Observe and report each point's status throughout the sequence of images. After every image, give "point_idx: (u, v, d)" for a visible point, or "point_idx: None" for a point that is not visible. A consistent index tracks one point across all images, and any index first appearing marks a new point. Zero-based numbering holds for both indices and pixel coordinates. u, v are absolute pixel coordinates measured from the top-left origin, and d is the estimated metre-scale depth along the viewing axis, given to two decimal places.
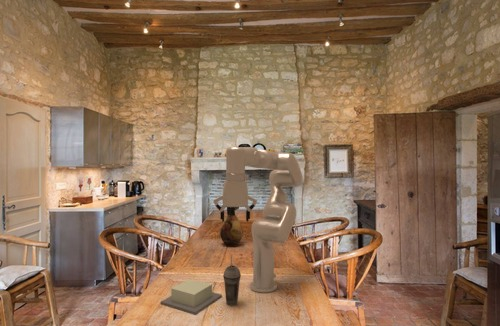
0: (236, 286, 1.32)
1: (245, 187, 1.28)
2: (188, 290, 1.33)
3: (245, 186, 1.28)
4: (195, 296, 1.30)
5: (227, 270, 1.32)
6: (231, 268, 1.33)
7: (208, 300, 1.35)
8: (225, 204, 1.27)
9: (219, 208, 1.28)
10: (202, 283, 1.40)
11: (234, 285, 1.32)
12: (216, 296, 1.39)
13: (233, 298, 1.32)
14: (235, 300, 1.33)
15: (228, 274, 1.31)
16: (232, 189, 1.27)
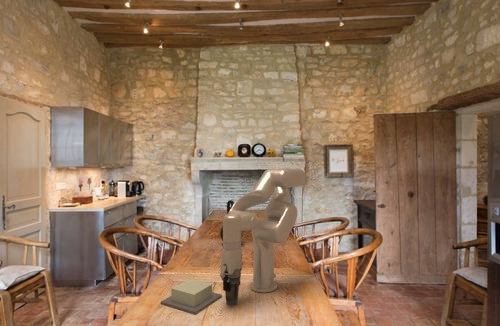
0: (236, 286, 1.32)
1: None
2: (188, 290, 1.33)
3: None
4: (195, 296, 1.30)
5: None
6: None
7: (208, 300, 1.35)
8: (230, 273, 1.30)
9: (226, 279, 1.29)
10: (202, 283, 1.40)
11: (234, 285, 1.32)
12: (216, 296, 1.39)
13: (233, 298, 1.32)
14: (235, 300, 1.33)
15: None
16: (235, 256, 1.32)
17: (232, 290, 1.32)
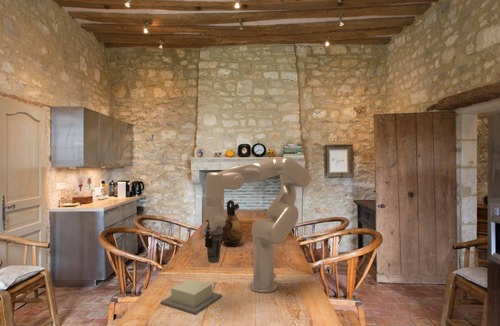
0: (218, 243, 1.32)
1: (223, 209, 1.37)
2: (188, 290, 1.33)
3: (223, 208, 1.37)
4: (195, 296, 1.30)
5: None
6: None
7: (208, 300, 1.35)
8: (213, 229, 1.30)
9: (208, 235, 1.30)
10: (202, 283, 1.40)
11: (216, 242, 1.32)
12: (216, 296, 1.39)
13: (215, 255, 1.32)
14: (217, 257, 1.33)
15: None
16: (217, 213, 1.32)
17: (214, 247, 1.32)
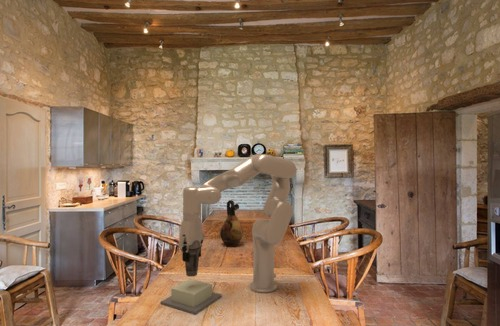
0: (195, 257, 1.34)
1: (201, 223, 1.38)
2: (188, 290, 1.33)
3: (201, 222, 1.38)
4: (195, 296, 1.30)
5: None
6: None
7: (208, 300, 1.35)
8: (189, 243, 1.32)
9: (185, 249, 1.31)
10: (202, 283, 1.40)
11: (193, 256, 1.34)
12: (216, 296, 1.39)
13: (192, 269, 1.34)
14: (194, 271, 1.35)
15: None
16: (194, 228, 1.34)
17: (191, 261, 1.34)
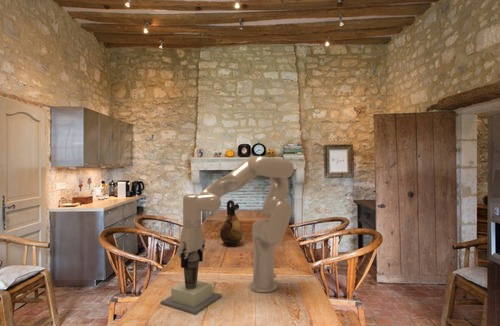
0: (194, 269, 1.34)
1: (201, 230, 1.39)
2: (188, 290, 1.33)
3: (201, 229, 1.39)
4: (195, 296, 1.30)
5: None
6: None
7: (208, 300, 1.35)
8: (189, 251, 1.32)
9: (183, 256, 1.31)
10: (202, 283, 1.40)
11: (192, 268, 1.33)
12: (216, 296, 1.39)
13: (191, 281, 1.34)
14: (193, 283, 1.34)
15: None
16: (194, 235, 1.34)
17: (190, 273, 1.33)
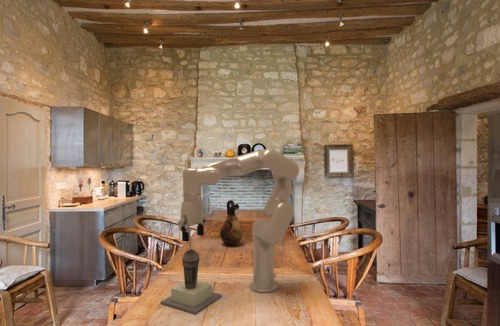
0: (194, 270, 1.34)
1: (202, 204, 1.38)
2: (188, 290, 1.33)
3: None
4: (195, 296, 1.30)
5: (185, 254, 1.34)
6: (189, 252, 1.34)
7: (208, 300, 1.35)
8: (190, 224, 1.32)
9: (184, 229, 1.30)
10: (202, 283, 1.40)
11: (192, 268, 1.33)
12: (216, 296, 1.39)
13: (191, 281, 1.34)
14: (193, 283, 1.34)
15: (186, 258, 1.33)
16: (195, 208, 1.34)
17: (190, 273, 1.33)
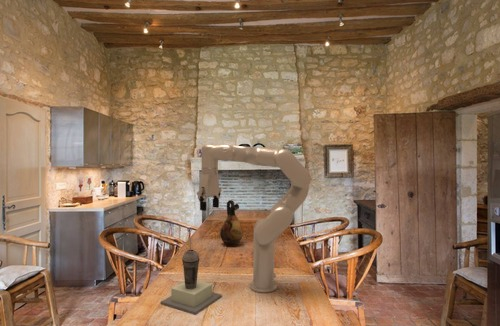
0: (194, 270, 1.34)
1: None
2: (188, 290, 1.33)
3: None
4: (195, 296, 1.30)
5: (185, 254, 1.34)
6: (189, 252, 1.34)
7: (208, 300, 1.35)
8: (208, 194, 1.45)
9: (202, 199, 1.44)
10: (202, 283, 1.40)
11: (192, 269, 1.33)
12: (216, 296, 1.39)
13: (191, 281, 1.34)
14: (193, 283, 1.34)
15: (186, 258, 1.33)
16: (212, 181, 1.47)
17: (190, 273, 1.33)
